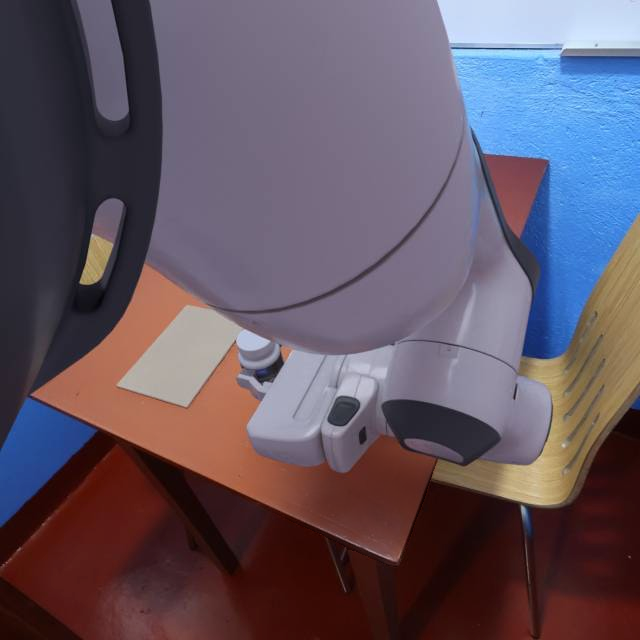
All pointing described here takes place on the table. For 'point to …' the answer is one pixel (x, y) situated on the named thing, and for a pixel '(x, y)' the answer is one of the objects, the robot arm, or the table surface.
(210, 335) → the cream mat
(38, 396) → the table surface
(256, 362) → the pill bottle
